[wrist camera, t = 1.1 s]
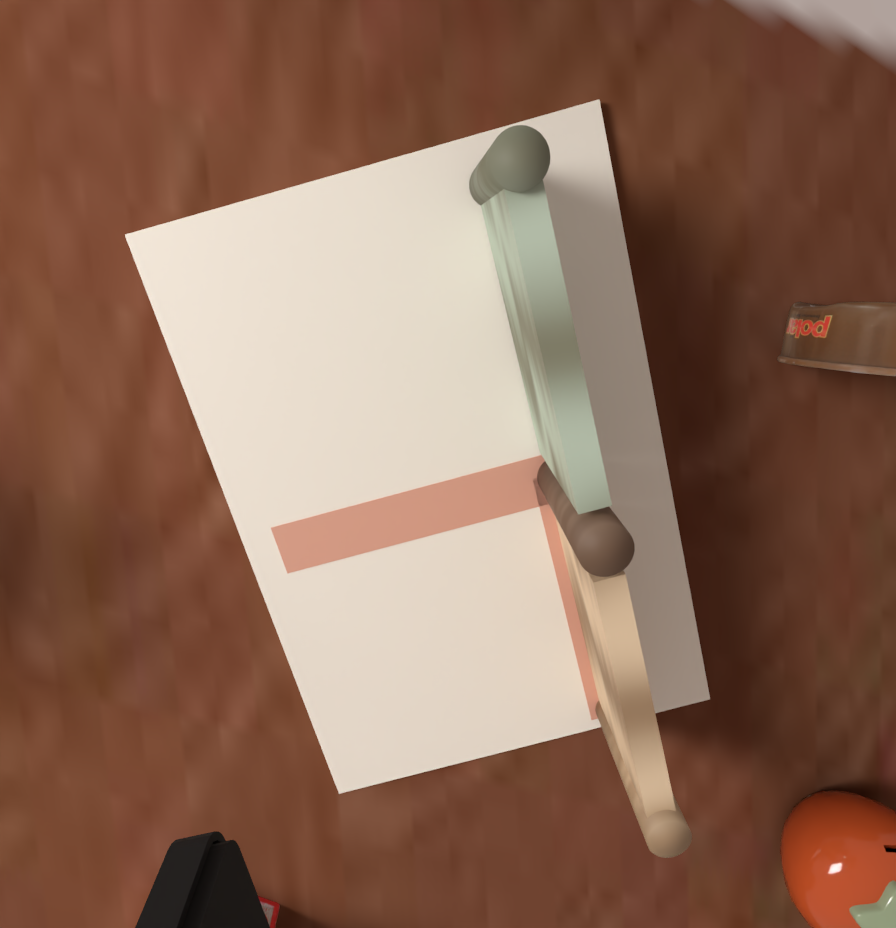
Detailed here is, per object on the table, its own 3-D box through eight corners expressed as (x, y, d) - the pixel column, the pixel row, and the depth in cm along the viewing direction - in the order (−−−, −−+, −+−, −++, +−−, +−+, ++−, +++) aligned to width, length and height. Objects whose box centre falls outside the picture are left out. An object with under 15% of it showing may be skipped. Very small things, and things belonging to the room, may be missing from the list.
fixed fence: (532, 461, 33) (572, 532, 24) (574, 450, 33) (628, 517, 24) (596, 726, 37) (649, 862, 29) (634, 716, 37) (697, 850, 29)
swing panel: (571, 443, 32) (623, 507, 24) (533, 454, 32) (572, 521, 24) (507, 155, 29) (543, 117, 21) (464, 167, 29) (483, 134, 21)
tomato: (912, 796, 40) (1031, 926, 32) (828, 888, 41) (922, 1033, 34) (811, 742, 38) (910, 864, 31) (728, 840, 40) (803, 979, 32)
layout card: (129, 235, 30) (124, 234, 29) (596, 101, 29) (599, 98, 28) (340, 786, 38) (339, 794, 37) (706, 693, 37) (710, 700, 37)
